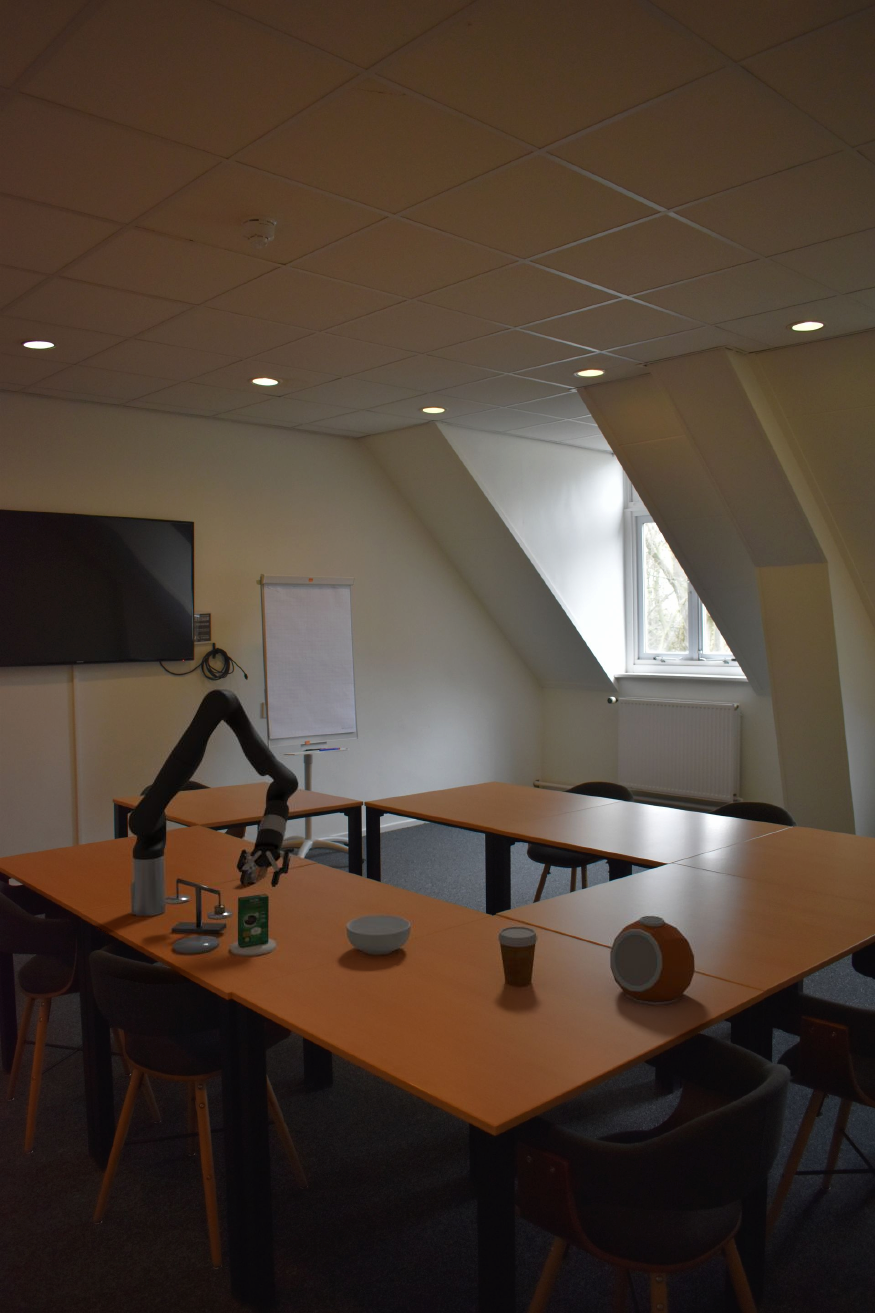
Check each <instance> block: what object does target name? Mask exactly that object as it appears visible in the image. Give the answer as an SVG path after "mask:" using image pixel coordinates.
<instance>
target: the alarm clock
mask: <svg viewBox="0 0 875 1313" xmlns="http://www.w3.org/2000/svg"><path fill="white" fill-rule="evenodd" d="M609 954H610V955H609V957H610V958H609V959H610V960H609V961H610V962H609V964H610V970H611V972H612V976H613V979H614V981H615V983H616V984H617V985H618V987H619V988H620V989H621V990H622V991H623V993H624V994H625V996H626V997H628V998H630V999H632V1000H634V1001H636V1002H638V1003H644V1004H650V1005H661V1004H662V1005H663V1004H670V1003H673V1002H676V1001H678V1000H679V999H680V997H681V996H683V994H684V993H685V992H686V991H687V989H688V988H689V987H690V986H691V983H692V980H693V977H694V974H695V970H696V969H695V954H694V952H693V950H692V946H691V944H690V942H689V941H688V939H687V938H686V937H685V935H684V934H683V933H682V932H681V931H680V930H679V929H678V928H677V927H676V926H673V925H672V924H670V923H668V922H666V921H665V920H664V919H663V917H659V916H656V915H655V916H654V915H645V916H641V917H640V918H639V919H638V920H635V921H634V922H632V923H630V924H627V925H626V926H624V927H623V928H622V929H621V930H620V932H619V933H618V934H617V935H616V937H615V938H614V941H613V943H612V947H611V949H610V951H609Z"/></svg>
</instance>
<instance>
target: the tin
mask: <svg viewBox="0 0 875 1313" xmlns="http://www.w3.org/2000/svg"><path fill="white" fill-rule="evenodd" d="M251 858H252V856H251V857H249V859H248V860H246V863H245V865H246V864H247V863H248V861H249V860H250V859H251ZM254 863H255V862H254ZM254 863H253V864H254ZM268 869H269V868H266V867H257V868H256V869H254V870H252V871H251V872H250V873H248V879H247V883H248V884H257V883H259V882H260V881H261V880H262V879H264V878H265V877H267V873H268Z"/></svg>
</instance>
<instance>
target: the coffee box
mask: <svg viewBox="0 0 875 1313" xmlns="http://www.w3.org/2000/svg"><path fill="white" fill-rule="evenodd" d="M269 897H270V896H269V895H268V894H266V893H263V894H261V893H260V894H255V895H248V896H240V897H237V941H238V946H239V947H240V948H243V947H249V946H254V945H259V944H265V943H268V941H269V939H270V937H269V922H270V921H269V919H270V918H269V916H270V915H269V914H270V913H269V912H270V911H269V910H270V908H269V907H270V906H269V903H270V902H269V901H270V899H269Z"/></svg>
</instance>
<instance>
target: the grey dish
mask: <svg viewBox="0 0 875 1313" xmlns="http://www.w3.org/2000/svg"><path fill="white" fill-rule="evenodd" d="M219 946H220V940H219V938H217V937H215V936H210V935H195V936H194V935H193V936H189V937H184V938H181V939H179V940H177V941H175V942H174V943H173V951H174V952H175V953H177V954H182V955H198V954H204V953H208V952H211V951H214V950H216V949H217V948H219Z"/></svg>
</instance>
